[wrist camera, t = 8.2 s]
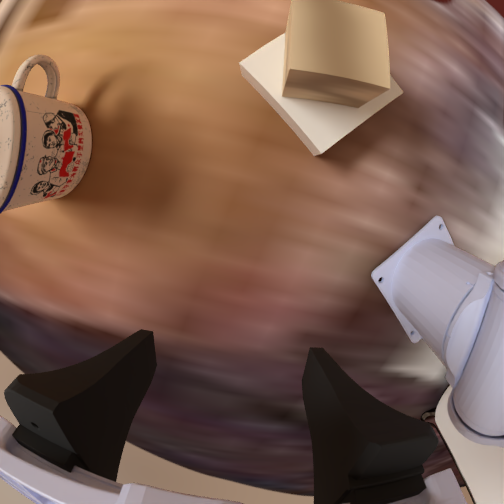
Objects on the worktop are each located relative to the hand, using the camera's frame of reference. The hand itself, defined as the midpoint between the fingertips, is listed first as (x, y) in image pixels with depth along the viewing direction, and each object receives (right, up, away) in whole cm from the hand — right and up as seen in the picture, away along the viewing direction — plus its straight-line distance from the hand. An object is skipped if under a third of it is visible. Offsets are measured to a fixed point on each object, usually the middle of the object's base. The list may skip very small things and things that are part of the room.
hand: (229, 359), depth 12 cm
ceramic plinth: (+6, +17, +6) cm, 19 cm away
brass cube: (+6, +17, +3) cm, 18 cm away
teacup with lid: (-16, +15, +7) cm, 23 cm away
